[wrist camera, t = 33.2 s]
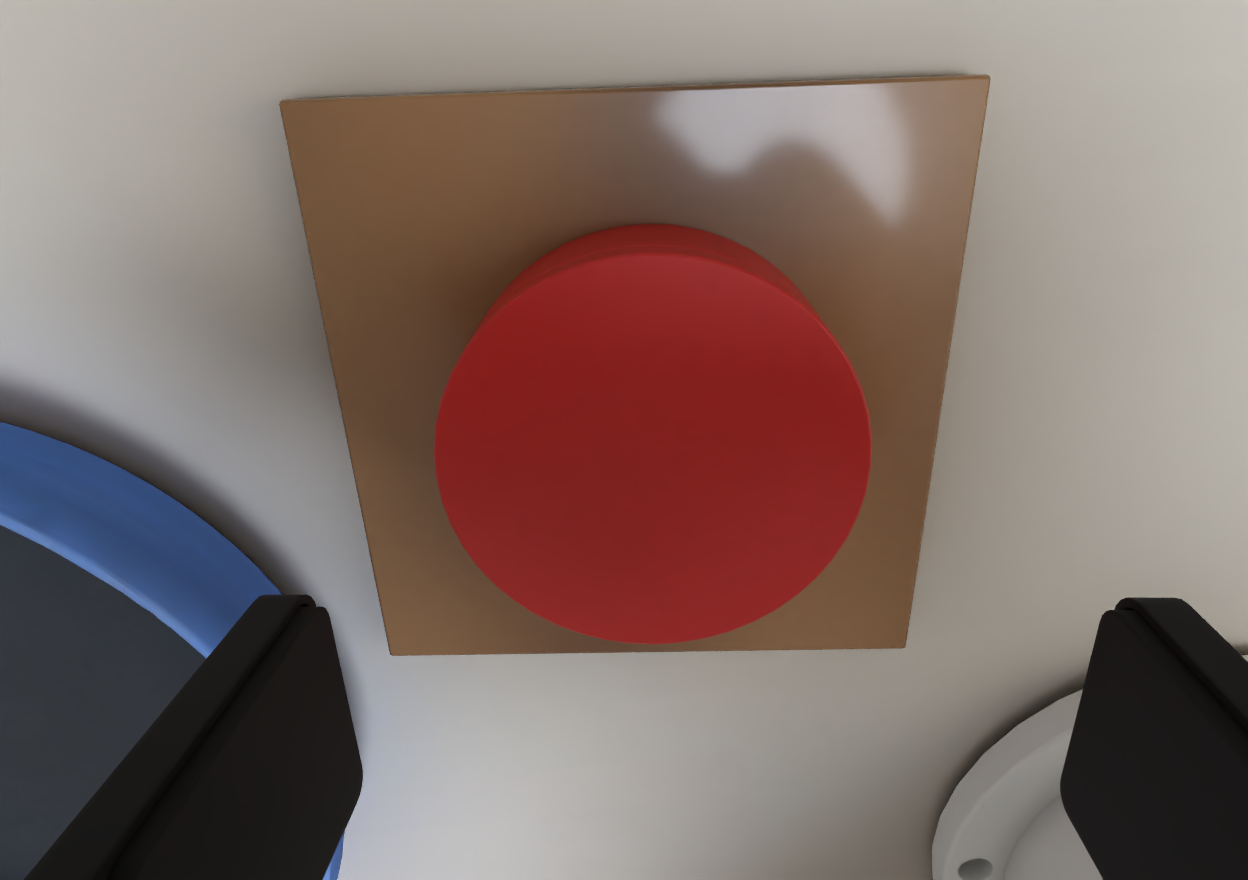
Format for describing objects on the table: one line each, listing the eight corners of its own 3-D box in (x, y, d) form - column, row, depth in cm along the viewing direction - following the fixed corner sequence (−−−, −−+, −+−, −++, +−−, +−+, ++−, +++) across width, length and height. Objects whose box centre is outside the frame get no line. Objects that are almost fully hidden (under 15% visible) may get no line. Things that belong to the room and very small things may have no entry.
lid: (480, 573, 17) (457, 648, 15) (434, 229, 14) (396, 259, 12) (824, 567, 17) (852, 642, 15) (855, 216, 14) (896, 245, 12)
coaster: (974, 74, 14) (992, 74, 13) (895, 627, 19) (906, 649, 18) (294, 99, 14) (276, 99, 13) (399, 634, 19) (389, 657, 18)
